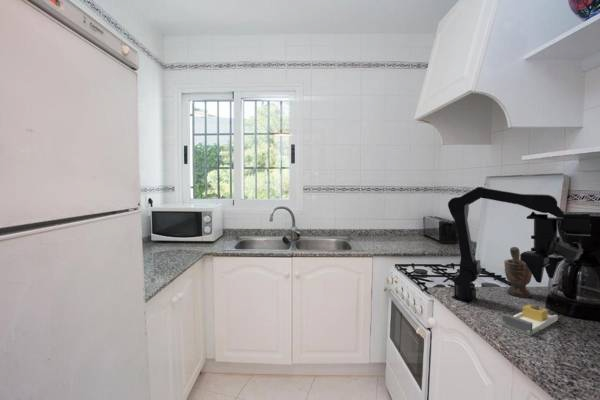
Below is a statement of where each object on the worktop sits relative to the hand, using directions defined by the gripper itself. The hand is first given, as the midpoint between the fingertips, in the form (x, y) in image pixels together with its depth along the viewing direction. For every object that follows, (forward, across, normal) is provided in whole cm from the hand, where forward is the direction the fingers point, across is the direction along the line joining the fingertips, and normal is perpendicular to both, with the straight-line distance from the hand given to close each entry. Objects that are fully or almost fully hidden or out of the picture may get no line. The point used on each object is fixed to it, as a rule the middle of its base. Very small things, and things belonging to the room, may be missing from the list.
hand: (545, 280), depth 90 cm
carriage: (+11, -7, 0) cm, 13 cm away
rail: (+12, -10, 0) cm, 15 cm away
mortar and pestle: (+12, +12, +13) cm, 22 cm away
